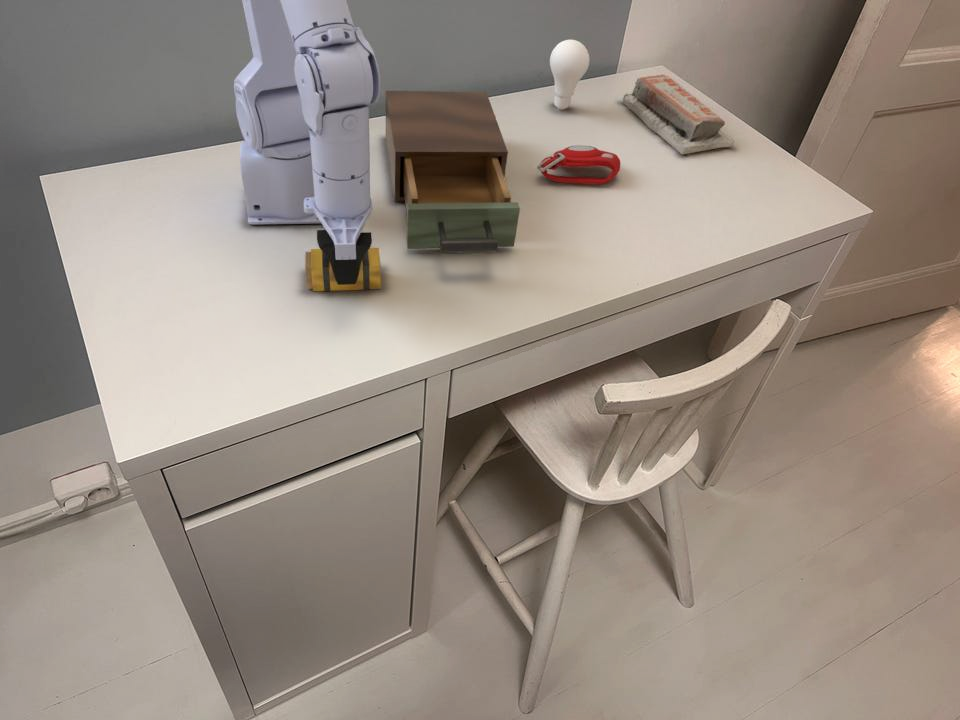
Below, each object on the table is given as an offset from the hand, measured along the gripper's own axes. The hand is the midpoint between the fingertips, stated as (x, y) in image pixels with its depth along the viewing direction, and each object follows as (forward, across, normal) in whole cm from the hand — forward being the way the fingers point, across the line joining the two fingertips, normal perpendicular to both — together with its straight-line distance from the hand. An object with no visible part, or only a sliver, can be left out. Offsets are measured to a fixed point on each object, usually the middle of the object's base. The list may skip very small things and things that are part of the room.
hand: (346, 271), depth 83 cm
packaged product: (+2, -37, +54) cm, 65 cm away
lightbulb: (+2, -42, +36) cm, 55 cm away
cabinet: (+1, -24, +14) cm, 28 cm away
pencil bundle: (+1, 0, 0) cm, 1 cm away
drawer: (+1, -10, +14) cm, 17 cm away
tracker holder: (+2, -23, +33) cm, 40 cm away
